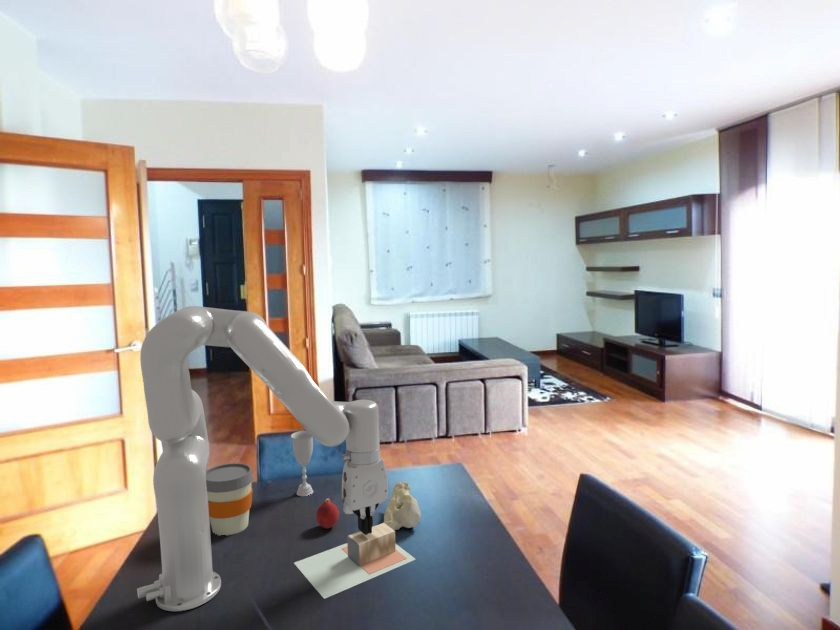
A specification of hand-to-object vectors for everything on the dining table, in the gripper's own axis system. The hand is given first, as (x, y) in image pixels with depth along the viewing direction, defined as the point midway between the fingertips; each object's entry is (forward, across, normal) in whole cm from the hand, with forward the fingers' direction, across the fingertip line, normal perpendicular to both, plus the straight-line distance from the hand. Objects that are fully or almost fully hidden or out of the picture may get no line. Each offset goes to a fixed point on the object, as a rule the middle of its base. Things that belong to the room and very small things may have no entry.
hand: (365, 531), depth 119 cm
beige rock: (+7, +16, +10) cm, 20 cm away
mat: (+7, -3, 0) cm, 7 cm away
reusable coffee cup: (+7, -21, +35) cm, 41 cm away
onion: (+7, -1, +18) cm, 19 cm away
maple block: (+4, -4, 0) cm, 5 cm away
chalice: (+7, +3, +42) cm, 43 cm away
